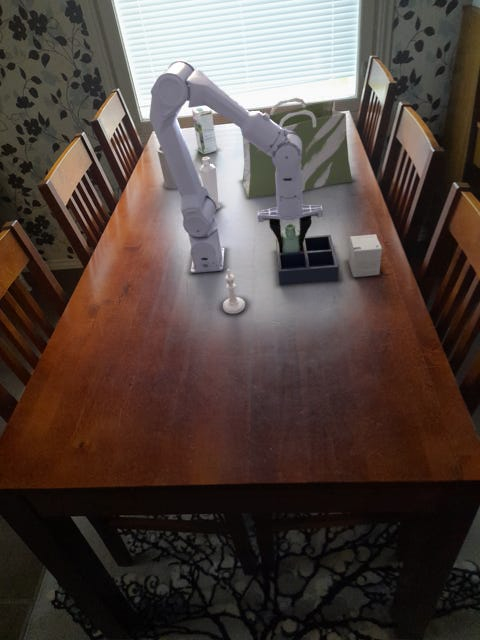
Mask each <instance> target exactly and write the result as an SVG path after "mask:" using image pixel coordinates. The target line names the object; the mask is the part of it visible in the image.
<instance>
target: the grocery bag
mask: <svg viewBox="0 0 480 640" xmlns="http://www.w3.org/2000/svg"><path fill="white" fill-rule="evenodd" d="M293 102H296V103H300V104H301V107H297V108H293V109H290V110H286V111H282V112H277V113H275V111H276V110H277V108H279V107H280V106H282V105H285V104H288V103H293ZM269 115H270V118H269V119H270V120H271V121H273V122H274V123H275V124H277V125H278V126H279V127H281V128H282V129H283V130H284V129H285V128H286V129H287V130H288V131H293V132H295V133H296V134H297V135H298V136H299V137H300V139H301V141H302V153H301V156H302V159H301V164H302V167H301V170H302V192H304V191H308V190H312V189H313V190H314V189H316V188H320V187H325V186H330V185H337V184H344V183H345V184H346V183H352V182H353V177H352V173H351V166H350V165H351V164H350V160H349V159H350V158H349V146H348V145H349V144H348V132H347V131H348V130H347V113H345V112H341V111H337V110H336V100H330V101H324V102H323V101H322V102H319V103H313V104H309V105H307V103H306V102H305V101H304V99H302V98H299V97H293V98H290V99H287V100H281V101H279V102H277V103H276V104H274V105H273V106H272V108H271V110H270V112H269ZM242 148H243V162H244V163H243V170H242V172H243V174H242V184H243V188H244V189H245V193H246V196H247V198H248V199H251V198H258V197H265V196H272V195H276V181H275V172H276V167H275V165H274V164H273V161H272V157H271V156H269V155H267V154H266V153H264V152H263V151H262V150H260V149H259V148H257V147H256V146H255V145H253V144H252V143H250V142H249V141H248V140H246V139H245V138H243V137H242Z"/></svg>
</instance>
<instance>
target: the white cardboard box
mask: <svg viewBox="0 0 480 640" xmlns="http://www.w3.org/2000/svg"><path fill="white" fill-rule="evenodd" d="M348 247H349V248H348V265H349V269H350V271H351V274H352V277H353V278H360V277H371V276H379V275H380V272H381V262H382V253H383V248H382V245H381V243H380V240H379V239H378V236H377V234H376V233H375V234H364V235H353V236H349V246H348Z"/></svg>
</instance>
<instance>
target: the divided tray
mask: <svg viewBox="0 0 480 640" xmlns="http://www.w3.org/2000/svg"><path fill="white" fill-rule="evenodd" d="M275 245H276V260H277V270H278V272H277V273H278V282H279V283H278V285H279V286H285V285H298V284H310V283H311V284H312V283H325V282H337V281H339V263H338V259H337V255H336V250H335V248H334V247H335V246H334V244H333V239H332V235H331V234H322V235H311V236H305V238H304V242H303V246H300V252H294V253H283V252H282V248H279V243H278V240H277V238H276V239H275Z"/></svg>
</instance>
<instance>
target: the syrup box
mask: <svg viewBox="0 0 480 640" xmlns="http://www.w3.org/2000/svg"><path fill="white" fill-rule="evenodd" d="M191 112H192V118H193V119H192V120H193V126H194V131H195V138H196V145H197V150H198V151H199V152H200V153H201V154H202V155H207V154H210V153H213V152H217V151H218V147H217V140H216V131H215V125H214V124H215V123H214V117H213V110H212V109H210V108H209V107H207V106H198V107H195V108H193V109H192V110H191Z"/></svg>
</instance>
